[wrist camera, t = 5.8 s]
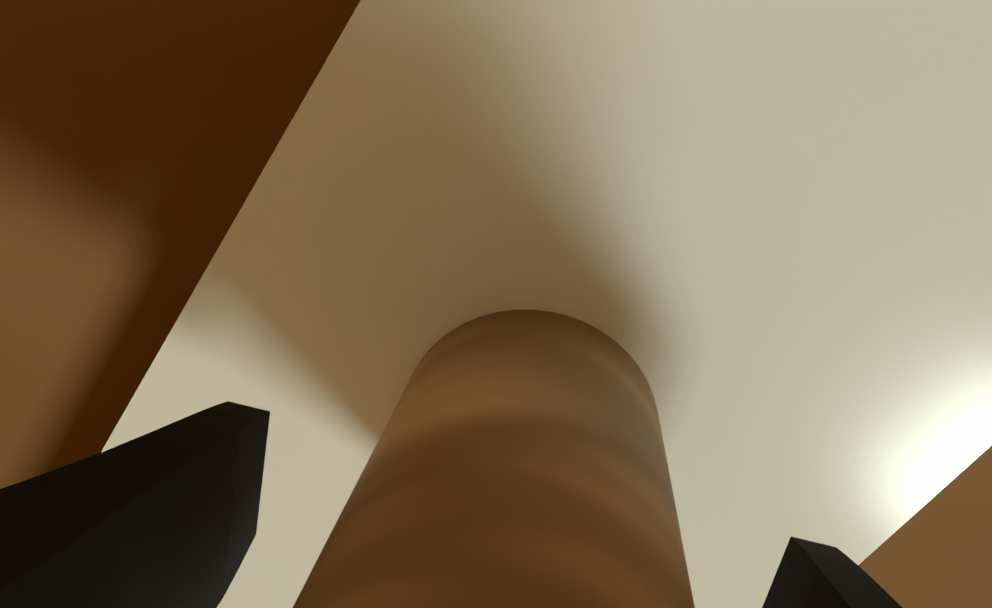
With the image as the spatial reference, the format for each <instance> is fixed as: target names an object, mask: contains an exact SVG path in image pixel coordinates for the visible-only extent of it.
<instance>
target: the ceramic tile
mask: <svg viewBox="0 0 992 608" xmlns="http://www.w3.org/2000/svg"><path fill="white" fill-rule="evenodd" d="M509 310H541V311H549V312H554V313H558V314H562V315H566V316H570V317H572V318H575V319H577V320H580V321H583V322H585V323H587V324H589V325H591V326H593V327H595V328H596V329H598V330H600V331H602V332H603V333H605V334H606V335H607V336H609V337H610V338H611V339H613V340H614V341H616V342H617V343H618V344H619V345H620V346H621V347H622V348H623V349H624V350H625V351H626V352H627V353H628V354H629V355H630V356H631V357H632V359H633V360H634V361H635V362H636V364H637V365H638V366H639V368H640V369H641V371H642V373H643V374H644V376H645V378H646V379H647V381H648V383H649V386H650V388H651V391H652V393H653V395H654V399H655V403H656V407H657V410H658V416H659V421H660V426H661V432H662V437H663V442H664V447H665V453H666V458H667V463H668V469H669V474H670V479H671V485H672V490H673V495H674V500H675V506H676V511H677V516H678V522H679V527H680V532H681V538H682V543H683V548H684V553H685V559H686V564H687V569H688V575H689V580H690V585H691V590H692V596H693V601H694V606H695V608H762V607H763V604H764V602H765V599H766V597H767V594H768V592H769V589H770V587H771V584H772V582H773V579H774V577H775V574H776V572H777V569H778V567H779V565H780V562H781V560H782V557H783V555H784V552H785V550H786V547H787V545H788V542H789V540H790V537H796V538H800V539H804V540H808V541H812V542H816V543H821V544H825V545H829V546H833V547H837V548H838V549H839V550H840V551H842V552H843V553H844V554H845V555H847V556H848V557H849V558H850V559H851V560H852V561H854V562H855V563H856V564H857V565H859V564H860V563H861V562H862V561H863V560H864V559H866V558H867V557H868V556H869V555H870V554H871V553H872V552H873V551H875V550H876V549H877V548H878V547H879V546H880V545H881V544H882V543H883V542H885V541H886V540H887V539H888V538H889V537H890V536H891V535H892V534H893V533H895V532H896V531H897V530H898V529H899V528H900V527H901V526H902V525H903V524H905V523H906V522H907V521H908V520H909V519H910V518H911V517H912V516H914V515H915V514H916V513H917V512H918V511H919V510H920V509H921V508H922V507H924V506H925V505H926V504H927V503H928V502H929V501H930V500H931V499H932V498H934V497H935V496H936V495H937V494H938V493H939V492H940V491H941V490H942V489H944V488H945V487H946V486H947V485H948V484H949V483H950V482H951V481H953V480H954V479H955V478H956V477H957V476H958V475H959V474H960V473H961V472H963V471H964V470H965V469H966V468H967V467H968V466H969V465H970V464H971V463H973V462H974V461H975V460H976V459H977V458H978V457H979V456H980V455H981V454H983V453H984V452H985V451H986V450H987V449H988V448H989V447H990V446H992V0H360V2H359V4H358V6H357V7H356V9H355V11H354V13H353V14H352V16H351V18H350V20H349V21H348V23H347V25H346V27H345V28H344V30H343V32H342V33H341V35H340V37H339V39H338V40H337V42H336V44H335V46H334V47H333V49H332V51H331V53H330V54H329V56H328V58H327V60H326V61H325V63H324V65H323V67H322V68H321V70H320V72H319V74H318V75H317V77H316V79H315V80H314V82H313V84H312V86H311V87H310V89H309V91H308V93H307V94H306V96H305V98H304V100H303V101H302V103H301V105H300V107H299V108H298V110H297V112H296V114H295V115H294V117H293V119H292V121H291V122H290V124H289V126H288V127H287V129H286V131H285V133H284V134H283V136H282V138H281V140H280V141H279V143H278V145H277V147H276V148H275V150H274V152H273V154H272V155H271V157H270V159H269V161H268V162H267V164H266V166H265V168H264V169H263V171H262V173H261V174H260V176H259V178H258V180H257V181H256V183H255V185H254V187H253V188H252V190H251V192H250V194H249V195H248V197H247V199H246V201H245V202H244V204H243V206H242V208H241V209H240V211H239V213H238V215H237V216H236V218H235V220H234V221H233V223H232V225H231V227H230V228H229V230H228V232H227V234H226V235H225V237H224V239H223V241H222V242H221V244H220V246H219V248H218V249H217V251H216V253H215V255H214V256H213V258H212V260H211V261H210V263H209V265H208V267H207V268H206V270H205V272H204V274H203V275H202V277H201V279H200V281H199V282H198V284H197V286H196V288H195V289H194V291H193V293H192V295H191V296H190V298H189V300H188V302H187V303H186V305H185V307H184V308H183V310H182V312H181V314H180V315H179V317H178V319H177V321H176V322H175V324H174V326H173V328H172V329H171V331H170V333H169V335H168V336H167V338H166V340H165V342H164V343H163V345H162V347H161V349H160V350H159V352H158V354H157V355H156V357H155V359H154V361H153V362H152V364H151V366H150V368H149V369H148V371H147V373H146V375H145V376H144V378H143V380H142V382H141V383H140V385H139V387H138V389H137V390H136V392H135V394H134V396H133V397H132V399H131V401H130V402H129V404H128V406H127V408H126V409H125V411H124V413H123V415H122V416H121V418H120V420H119V422H118V423H117V425H116V427H115V429H114V430H113V432H112V434H111V436H110V437H109V439H108V441H107V443H106V444H105V446H104V448H103V449H102V451H101V452H104V451H106V450H109V449H111V448H114V447H116V446H118V445H121V444H123V443H126V442H128V441H130V440H133V439H135V438H138V437H140V436H143V435H145V434H147V433H150V432H152V431H155V430H157V429H159V428H162V427H164V426H166V425H169V424H171V423H173V422H176V421H178V420H181V419H183V418H185V417H188V416H190V415H192V414H195V413H197V412H200V411H202V410H205V409H207V408H210V407H212V406H215V405H218V404H221V403H224V402H227V401H229V402H233V403H237V404H242V405H246V406H250V407H254V408H258V409H262V410H267V411H270V418H269V427H268V435H267V444H266V453H265V461H264V470H263V479H262V487H261V496H260V505H259V514H258V522H257V531H256V536H255V538H254V540H253V542H252V544H251V546H250V547H249V549H248V551H247V553H246V555H245V557H244V559H243V561H242V563H241V565H240V567H239V569H238V571H237V573H236V575H235V577H234V579H233V580H232V582H231V584H230V586H229V588H228V590H227V592H226V593H225V595H224V597H223V599H222V600H221V602H220V603H219V605H218V606H217V608H293V606H294V604H295V602H296V600H297V598H298V596H299V594H300V592H301V590H302V588H303V586H304V584H305V582H306V581H307V579H308V577H309V575H310V573H311V571H312V569H313V567H314V565H315V563H316V561H317V559H318V557H319V555H320V553H321V551H322V549H323V547H324V545H325V543H326V542H327V540H328V538H329V536H330V534H331V532H332V530H333V528H334V526H335V524H336V522H337V520H338V518H339V516H340V514H341V512H342V510H343V508H344V506H345V505H346V503H347V501H348V499H349V497H350V495H351V493H352V491H353V489H354V487H355V485H356V483H357V481H358V479H359V477H360V475H361V473H362V471H363V469H364V468H365V466H366V464H367V462H368V460H369V458H370V456H371V454H372V452H373V450H374V448H375V446H376V444H377V442H378V440H379V438H380V436H381V434H382V432H383V431H384V429H385V427H386V425H387V423H388V421H389V419H390V417H391V415H392V413H393V411H394V409H395V407H396V405H397V403H398V401H399V399H400V397H401V395H402V394H403V392H404V390H405V388H406V386H407V384H408V382H409V380H410V378H411V376H412V374H413V372H414V371H415V369H416V367H417V365H418V363H419V362H420V361H421V359H422V358H423V357H424V355H425V354H426V353H427V351H428V350H429V349H430V348H431V347H432V346H433V345H434V344H435V343H436V342H437V341H438V340H440V339H441V338H442V337H444V336H445V335H446V334H448V333H449V332H450V331H452V330H453V329H455V328H457V327H459V326H460V325H462V324H464V323H466V322H468V321H471V320H473V319H476V318H478V317H481V316H484V315H488V314H492V313H496V312H500V311H509Z"/></svg>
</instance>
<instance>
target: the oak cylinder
mask: <svg viewBox="0 0 992 608" xmlns="http://www.w3.org/2000/svg"><path fill="white" fill-rule="evenodd" d="M293 608H695V606H694V601H693V596H692V590H691V585H690V580H689V575H688V569H687V564H686V559H685V553H684V548H683V543H682V538H681V532H680V527H679V522H678V516H677V511H676V506H675V500H674V495H673V490H672V485H671V479H670V474H669V469H668V463H667V458H666V453H665V447H664V442H663V437H662V432H661V426H660V421H659V416H658V410H657V407H656V403H655V399H654V395H653V393H652V391H651V388H650V386H649V383H648V381H647V379H646V378H645V376H644V374H643V373H642V371H641V369H640V368H639V366H638V365H637V364H636V362H635V361H634V360H633V359H632V357H631V356H630V355H629V354H628V353H627V352H626V351H625V350H624V349H623V348H622V347H621V346H620V345H619V344H618V343H617V342H616V341H614V340H613V339H611V338H610V337H609V336H607V335H606V334H605V333H603V332H602V331H600V330H598V329H596V328H595V327H593V326H591V325H589V324H587V323H585V322H583V321H580V320H577V319H575V318H572V317H570V316H566V315H562V314H558V313H554V312H549V311H541V310H509V311H500V312H496V313H492V314H488V315H484V316H481V317H478V318H476V319H473V320H471V321H468V322H466V323H464V324H462V325H460V326H459V327H457V328H455V329H453V330H452V331H450V332H449V333H448V334H446V335H445V336H444V337H442V338H441V339H440V340H438V341H437V342H436V343H435V344H434V345H433V346H432V347H431V348H430V349H429V350H428V351H427V353H426V354H425V355H424V357H423V358H422V359H421V361H420V362H419V363H418V365H417V367H416V369H415V371H414V372H413V374H412V376H411V378H410V380H409V382H408V384H407V386H406V388H405V390H404V392H403V394H402V395H401V397H400V399H399V401H398V403H397V405H396V407H395V409H394V411H393V413H392V415H391V417H390V419H389V421H388V423H387V425H386V427H385V429H384V431H383V432H382V434H381V436H380V438H379V440H378V442H377V444H376V446H375V448H374V450H373V452H372V454H371V456H370V458H369V460H368V462H367V464H366V466H365V468H364V469H363V471H362V473H361V475H360V477H359V479H358V481H357V483H356V485H355V487H354V489H353V491H352V493H351V495H350V497H349V499H348V501H347V503H346V505H345V506H344V508H343V510H342V512H341V514H340V516H339V518H338V520H337V522H336V524H335V526H334V528H333V530H332V532H331V534H330V536H329V538H328V540H327V542H326V543H325V545H324V547H323V549H322V551H321V553H320V555H319V557H318V559H317V561H316V563H315V565H314V567H313V569H312V571H311V573H310V575H309V577H308V579H307V581H306V582H305V584H304V586H303V588H302V590H301V592H300V594H299V596H298V598H297V600H296V602H295V604H294V606H293Z"/></svg>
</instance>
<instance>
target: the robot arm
mask: <svg viewBox="0 0 992 608" xmlns="http://www.w3.org/2000/svg"><path fill="white" fill-rule="evenodd" d="M269 418H270V411H267V410H262V409H258V408H254V407H250V406H246V405H242V404H237V403H233V402H229V401H227V402H224V403H221V404H218V405H215V406H212V407H210V408H207V409H205V410H202V411H200V412H197V413H195V414H192V415H190V416H188V417H185V418H183V419H181V420H178V421H176V422H173V423H171V424H169V425H166V426H164V427H162V428H159V429H157V430H155V431H152V432H150V433H147V434H145V435H143V436H140V437H138V438H135V439H133V440H130V441H128V442H126V443H123V444H121V445H118V446H116V447H114V448H111V449H109V450H106V451H104V452H101V453H99V454H96V455H94V456H91V457H88V458H85V459H83V460H80V461H77V462H75V463H72V464H69V465H66V466H64V467H61V468H58V469H56V470H53V471H50V472H47V473H45V474H42V475H39V476H37V477H34V478H31V479H28V480H26V481H23V482H20V483H17V484H14V485H11V486H8V487H5V488H2V489H0V608H217V606H218V605H219V603H220V602H221V600H222V599H223V597H224V595H225V593H226V592H227V590H228V588H229V586H230V584H231V582H232V580H233V579H234V577H235V575H236V573H237V571H238V569H239V567H240V565H241V563H242V561H243V559H244V557H245V555H246V553H247V551H248V549H249V547H250V546H251V544H252V542H253V540H254V538H255V536H256V531H257V522H258V514H259V505H260V496H261V487H262V479H263V470H264V461H265V453H266V444H267V435H268V427H269ZM762 608H902V607H901V606H900V605H899V604H898V603H897V602H896V601H895V600H894V599H893V598H892V597H891V596H890V595H889V594H888V593H887V592H886V591H885V590H884V589H882V588H881V587H880V586H879V585H878V584H877V583H876V582H875V581H874V580H873V579H872V578H871V577H870V576H869V575H868V574H867V573H866V572H865V571H863V570H862V569H861V568H860V567H859V566H858V565H857V564H856V563H855V562H854V561H852V560H851V559H850V558H849V557H848V556H847V555H845V554H844V553H843V552H842V551H840V550H839V549H838V548H837V547H833V546H829V545H825V544H821V543H816V542H812V541H808V540H804V539H800V538H796V537H790V540H789V542H788V545H787V547H786V550H785V552H784V555H783V557H782V560H781V562H780V565H779V567H778V569H777V572H776V574H775V577H774V579H773V582H772V584H771V587H770V589H769V592H768V594H767V597H766V599H765V602H764V604H763V607H762Z"/></svg>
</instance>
